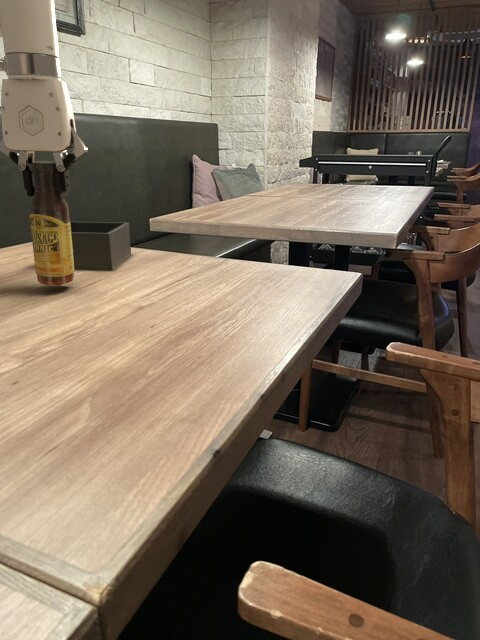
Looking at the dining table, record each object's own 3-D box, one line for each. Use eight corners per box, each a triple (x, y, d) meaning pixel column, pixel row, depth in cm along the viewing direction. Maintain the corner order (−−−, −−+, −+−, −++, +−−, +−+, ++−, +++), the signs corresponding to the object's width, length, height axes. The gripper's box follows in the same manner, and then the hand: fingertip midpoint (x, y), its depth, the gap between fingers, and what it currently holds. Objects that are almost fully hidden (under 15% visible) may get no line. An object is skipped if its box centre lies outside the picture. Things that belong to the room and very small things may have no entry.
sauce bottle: (29, 285, 83) (10, 162, 76) (53, 275, 89) (37, 160, 82) (62, 288, 81) (46, 162, 74) (84, 278, 87) (71, 160, 80)
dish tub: (41, 270, 99) (36, 232, 97) (68, 255, 112) (64, 221, 109) (112, 272, 98) (109, 233, 96) (131, 257, 111) (128, 222, 108)
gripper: (-35, 66, 70) (-15, 197, 77) (79, 68, 70) (90, 200, 76) (-7, 72, 77) (9, 191, 84) (97, 74, 77) (106, 195, 83)
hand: (48, 194), depth 80 cm, fingers closed on sauce bottle, 4 cm apart
